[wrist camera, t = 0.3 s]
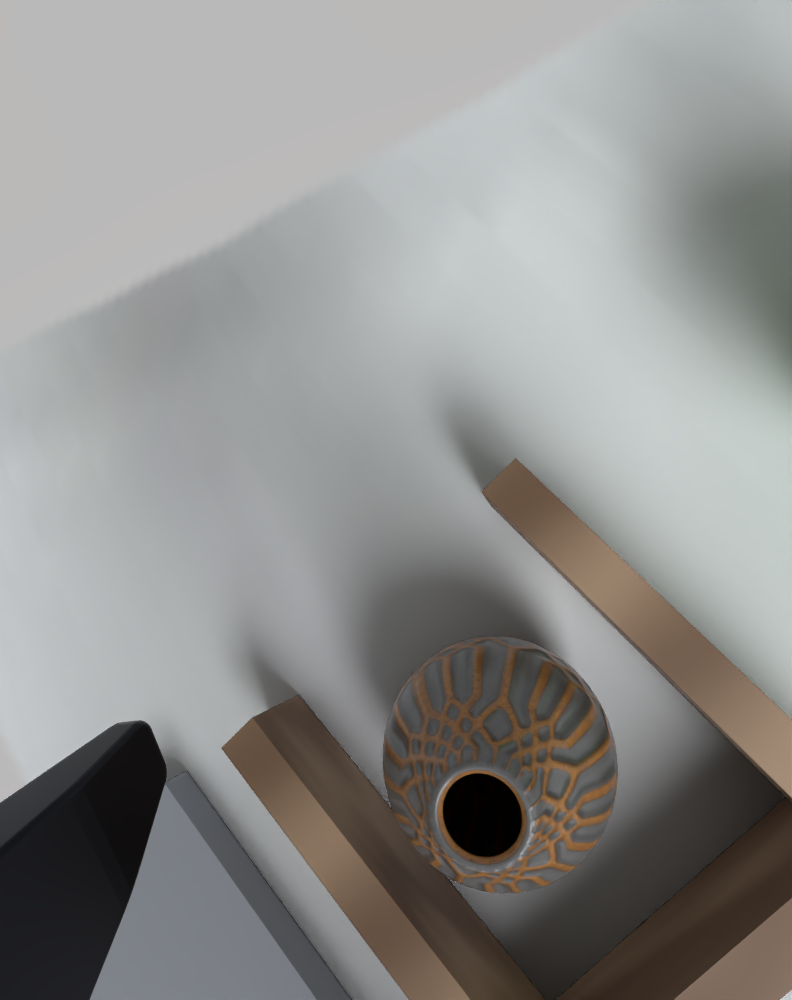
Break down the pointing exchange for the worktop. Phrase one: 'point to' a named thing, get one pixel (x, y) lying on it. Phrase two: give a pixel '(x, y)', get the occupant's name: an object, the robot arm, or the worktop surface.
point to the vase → (500, 764)
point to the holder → (438, 905)
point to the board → (207, 919)
